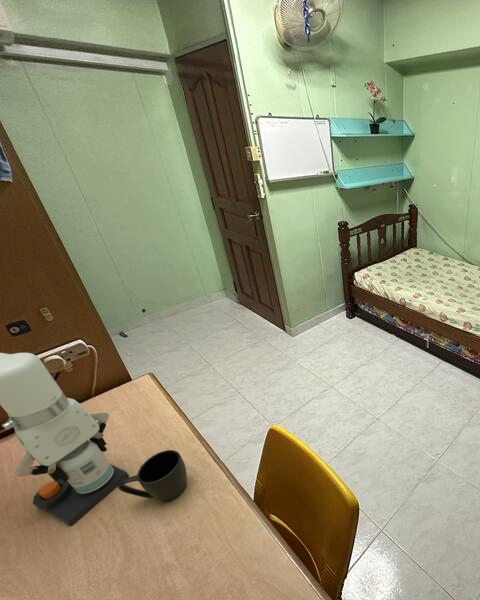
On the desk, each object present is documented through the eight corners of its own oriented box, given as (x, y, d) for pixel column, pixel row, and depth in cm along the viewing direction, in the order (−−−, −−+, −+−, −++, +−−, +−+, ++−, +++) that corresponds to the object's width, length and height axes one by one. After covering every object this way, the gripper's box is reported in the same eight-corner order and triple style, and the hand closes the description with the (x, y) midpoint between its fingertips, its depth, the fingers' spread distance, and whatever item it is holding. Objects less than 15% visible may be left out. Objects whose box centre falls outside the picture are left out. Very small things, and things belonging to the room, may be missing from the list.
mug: (137, 488, 76) (121, 464, 71) (194, 468, 80) (182, 444, 76) (128, 522, 69) (110, 497, 65) (191, 498, 74) (177, 474, 69)
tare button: (39, 496, 71) (35, 491, 70) (56, 483, 73) (52, 479, 72) (47, 501, 70) (43, 496, 69) (64, 488, 72) (60, 483, 71)
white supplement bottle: (117, 463, 79) (96, 431, 73) (113, 486, 74) (89, 454, 68) (81, 476, 76) (56, 444, 70) (74, 502, 71) (46, 470, 65)
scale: (35, 507, 71) (26, 499, 70) (97, 460, 82) (90, 451, 80) (69, 528, 68) (61, 520, 66) (129, 476, 78) (123, 467, 76)
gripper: (-10, 451, 55) (44, 507, 63) (102, 384, 69) (133, 437, 78) (-33, 438, 57) (23, 493, 66) (80, 376, 71) (113, 428, 80)
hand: (83, 462), depth 72 cm, fingers closed on white supplement bottle, 6 cm apart
